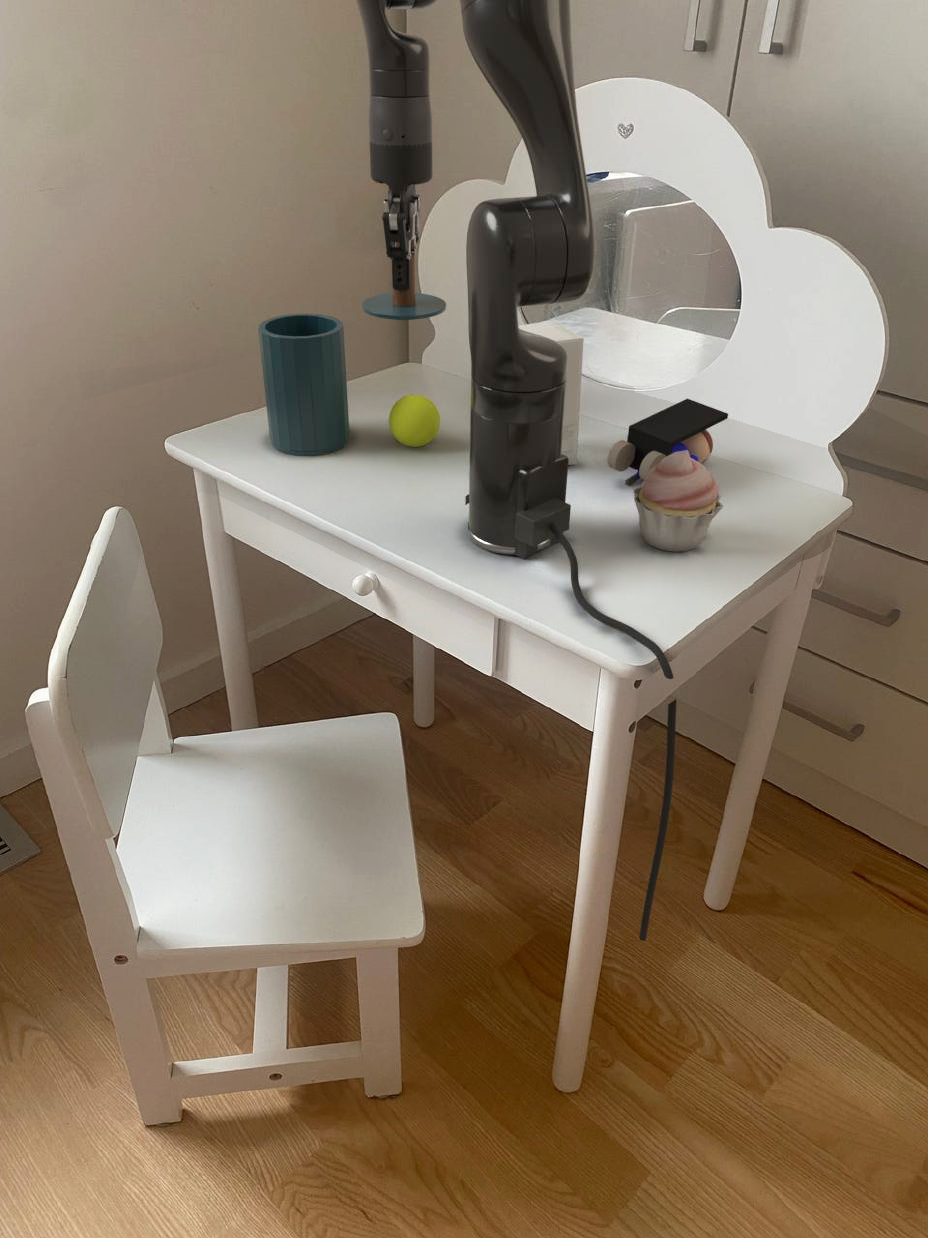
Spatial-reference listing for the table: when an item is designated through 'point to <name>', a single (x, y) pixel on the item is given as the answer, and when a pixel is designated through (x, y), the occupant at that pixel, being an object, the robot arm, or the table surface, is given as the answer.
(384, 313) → the tube lid
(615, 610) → the table surface
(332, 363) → the tube
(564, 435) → the cosmetic box
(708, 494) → the cupcake
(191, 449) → the table surface
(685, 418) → the figurine character
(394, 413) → the tennis ball
